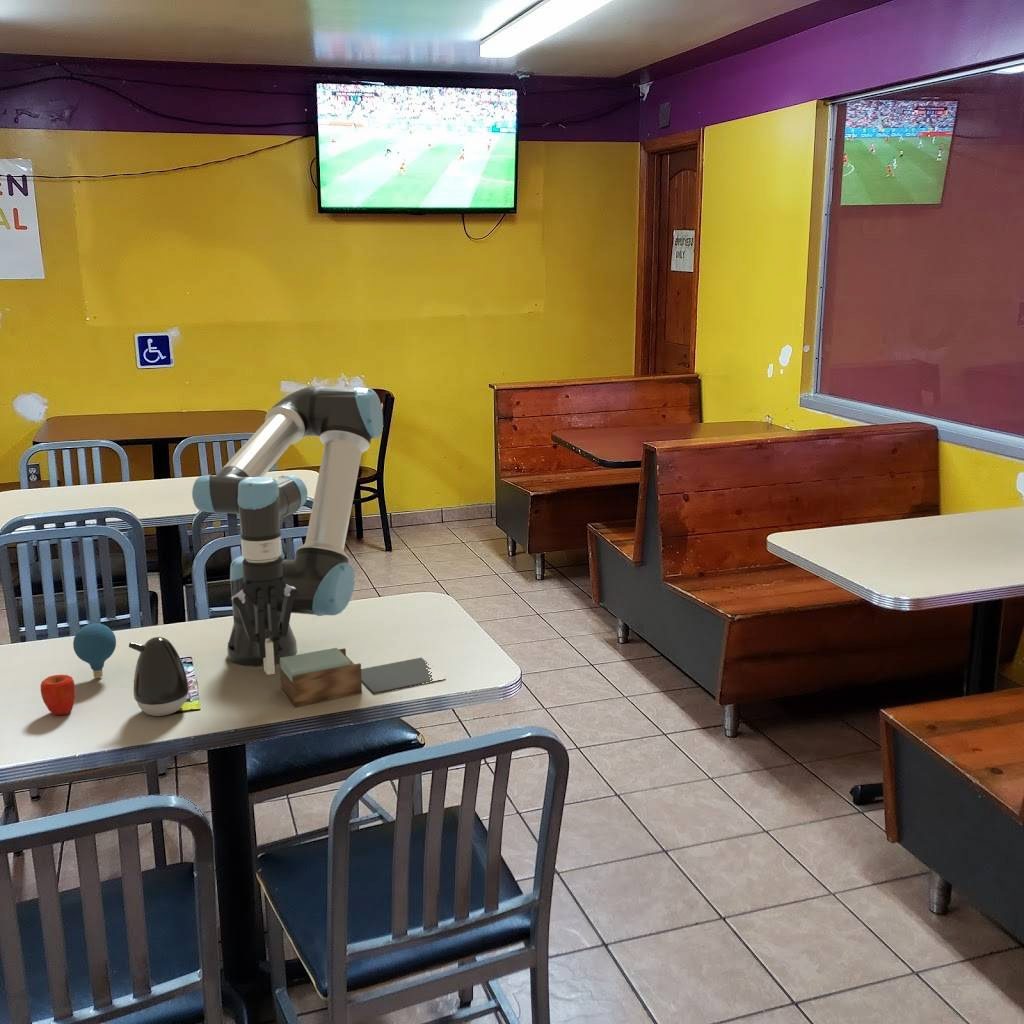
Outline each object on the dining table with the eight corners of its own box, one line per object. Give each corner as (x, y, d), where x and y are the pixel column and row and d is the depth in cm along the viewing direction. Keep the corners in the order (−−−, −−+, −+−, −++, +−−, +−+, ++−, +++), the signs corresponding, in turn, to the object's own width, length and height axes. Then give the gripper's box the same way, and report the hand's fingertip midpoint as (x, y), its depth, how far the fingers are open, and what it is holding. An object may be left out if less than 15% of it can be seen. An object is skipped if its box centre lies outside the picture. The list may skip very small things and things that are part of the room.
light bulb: (79, 688, 211) (73, 633, 208) (75, 674, 218) (69, 621, 216) (122, 681, 215) (116, 627, 212) (116, 667, 222) (111, 615, 219)
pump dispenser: (142, 700, 205) (135, 629, 202) (195, 698, 206) (189, 627, 203) (128, 723, 195) (120, 648, 192) (183, 720, 196) (177, 646, 193)
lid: (292, 682, 202) (291, 671, 201) (280, 667, 209) (280, 657, 208) (350, 670, 207) (349, 660, 207) (337, 657, 214) (336, 647, 214)
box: (294, 707, 202) (293, 677, 201) (280, 689, 211) (279, 660, 209) (362, 693, 208) (360, 664, 207) (345, 676, 217) (344, 648, 216)
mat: (373, 694, 208) (373, 692, 208) (352, 672, 219) (352, 670, 219) (445, 679, 215) (445, 677, 215) (421, 659, 226) (421, 657, 226)
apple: (36, 715, 199) (32, 679, 197) (64, 703, 204) (60, 668, 202) (56, 722, 196) (52, 686, 194) (84, 710, 201) (80, 675, 199)
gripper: (232, 567, 192) (240, 684, 197) (300, 558, 197) (306, 672, 203) (223, 557, 198) (232, 671, 204) (290, 548, 204) (296, 659, 210)
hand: (269, 671), depth 203 cm, fingers closed
